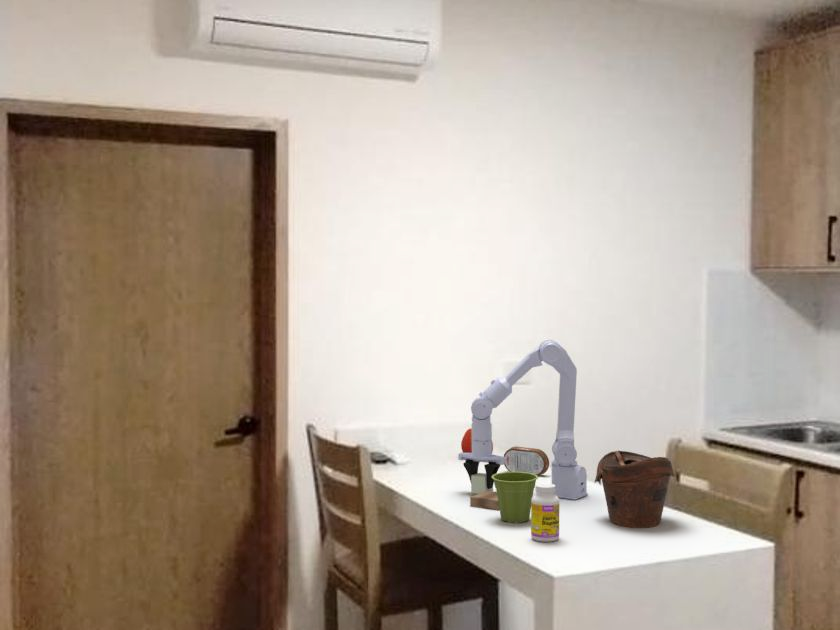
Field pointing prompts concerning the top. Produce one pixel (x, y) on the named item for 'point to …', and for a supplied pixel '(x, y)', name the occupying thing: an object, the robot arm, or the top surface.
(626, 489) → the rusty brown bucket
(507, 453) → the tin
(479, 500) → the brown square block
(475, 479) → the sage block
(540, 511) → the supplement bottle
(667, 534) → the top surface
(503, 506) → the plant pot
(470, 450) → the apple
